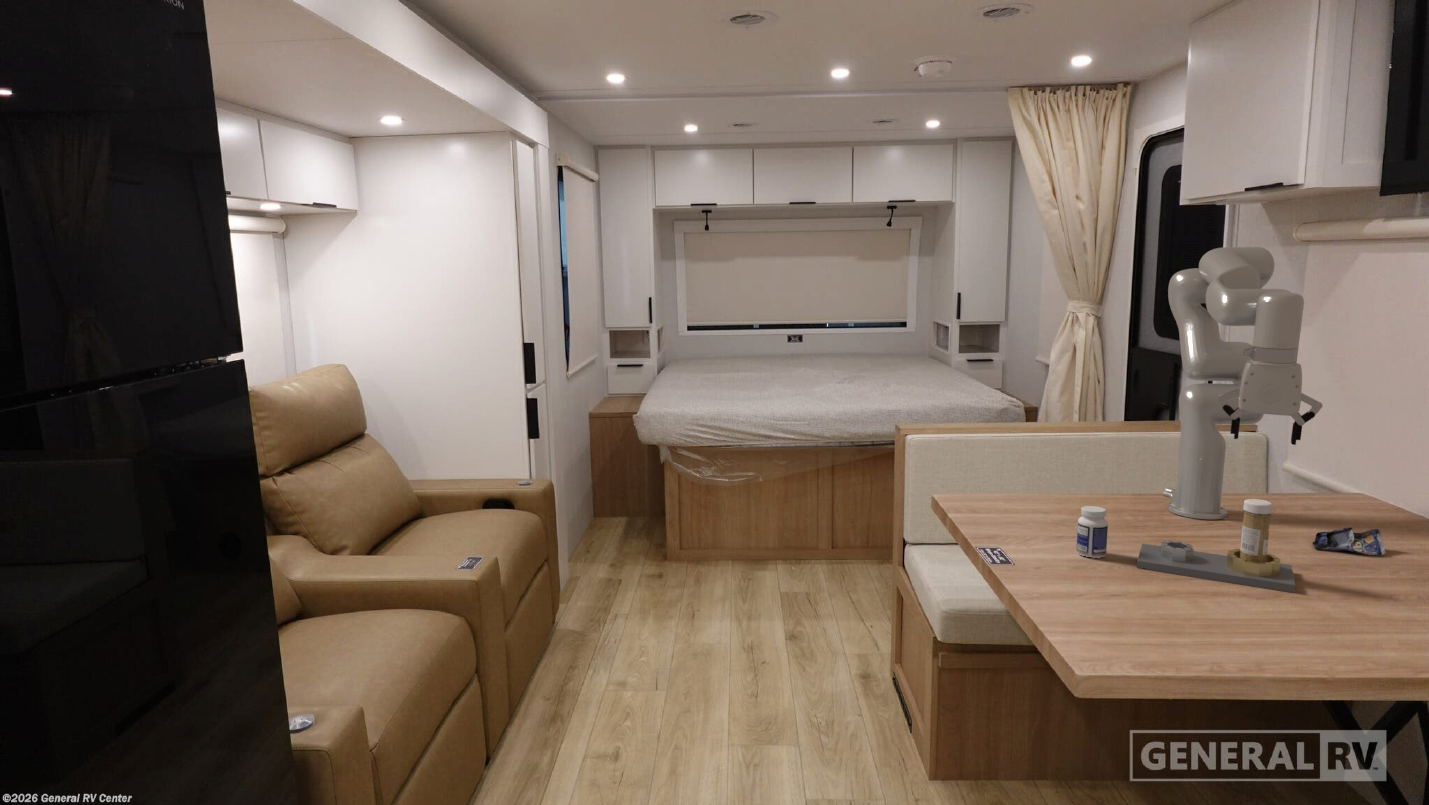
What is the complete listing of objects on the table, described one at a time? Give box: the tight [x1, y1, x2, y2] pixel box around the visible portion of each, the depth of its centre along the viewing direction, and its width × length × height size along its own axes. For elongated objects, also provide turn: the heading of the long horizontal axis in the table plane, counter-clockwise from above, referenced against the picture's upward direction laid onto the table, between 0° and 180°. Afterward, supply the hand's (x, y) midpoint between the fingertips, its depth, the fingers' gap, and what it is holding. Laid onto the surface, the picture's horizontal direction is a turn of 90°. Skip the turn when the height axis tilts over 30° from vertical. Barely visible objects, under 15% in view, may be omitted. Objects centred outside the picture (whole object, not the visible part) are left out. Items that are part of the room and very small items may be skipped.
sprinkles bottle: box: [1239, 498, 1273, 562], centre depth 159 cm, size 5×5×13 cm
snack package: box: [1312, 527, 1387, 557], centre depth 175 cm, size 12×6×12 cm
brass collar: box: [1226, 548, 1281, 577], centre depth 160 cm, size 8×8×2 cm
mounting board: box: [1136, 543, 1296, 594], centre depth 164 cm, size 26×12×2 cm, turn 58°
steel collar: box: [1159, 540, 1195, 562], centre depth 167 cm, size 6×6×2 cm
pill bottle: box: [1075, 505, 1109, 559], centre depth 173 cm, size 6×6×10 cm
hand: (1264, 440), depth 166 cm, fingers open, 9 cm apart
